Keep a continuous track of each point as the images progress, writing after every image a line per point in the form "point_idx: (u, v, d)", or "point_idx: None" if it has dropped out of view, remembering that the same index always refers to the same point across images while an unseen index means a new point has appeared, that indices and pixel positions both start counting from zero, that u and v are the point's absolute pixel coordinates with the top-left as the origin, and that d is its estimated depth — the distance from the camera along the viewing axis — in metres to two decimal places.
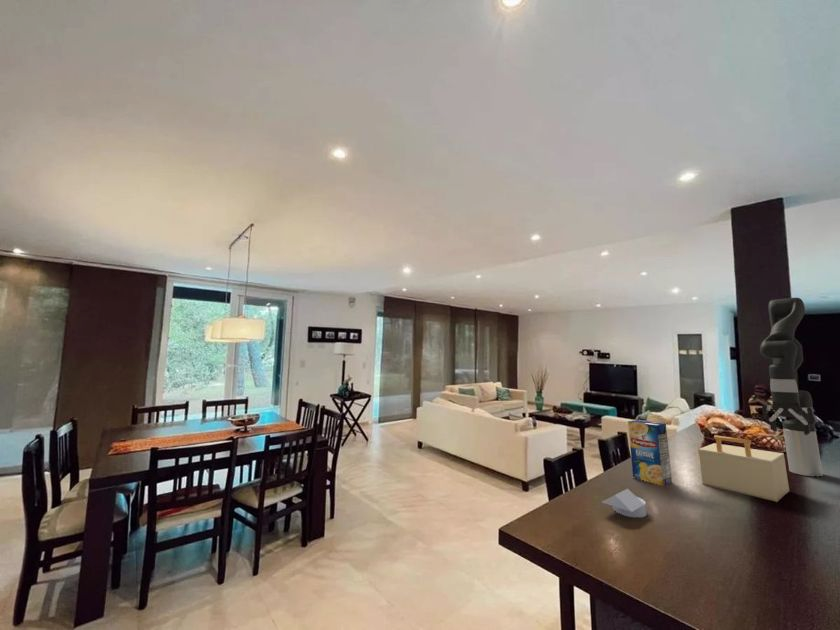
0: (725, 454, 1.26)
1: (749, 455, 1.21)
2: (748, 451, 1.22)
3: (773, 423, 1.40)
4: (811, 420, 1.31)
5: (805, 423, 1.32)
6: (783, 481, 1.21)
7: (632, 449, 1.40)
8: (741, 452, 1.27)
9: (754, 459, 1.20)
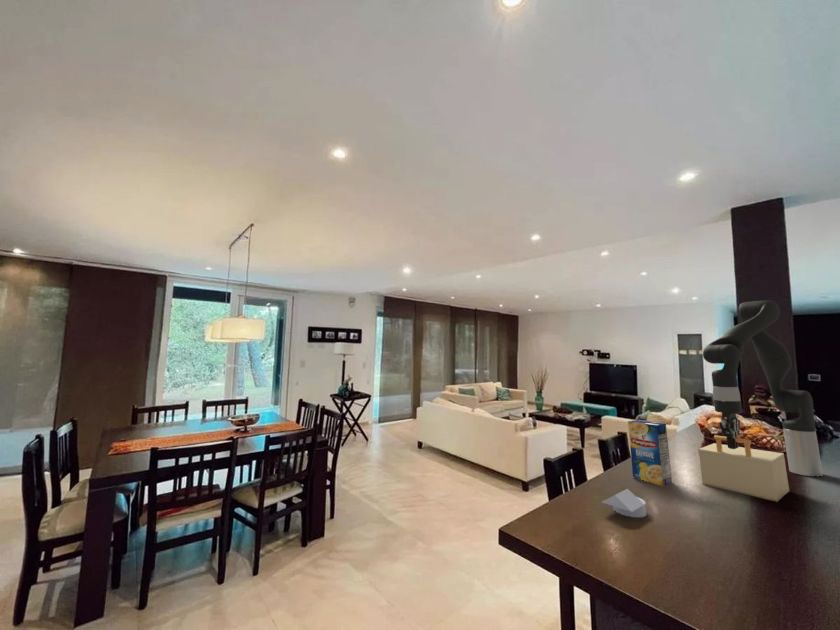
0: (725, 454, 1.26)
1: (749, 455, 1.21)
2: (748, 451, 1.22)
3: (734, 440, 1.24)
4: (738, 431, 1.27)
5: (737, 435, 1.26)
6: (783, 481, 1.21)
7: (632, 449, 1.40)
8: (741, 452, 1.27)
9: (754, 459, 1.20)
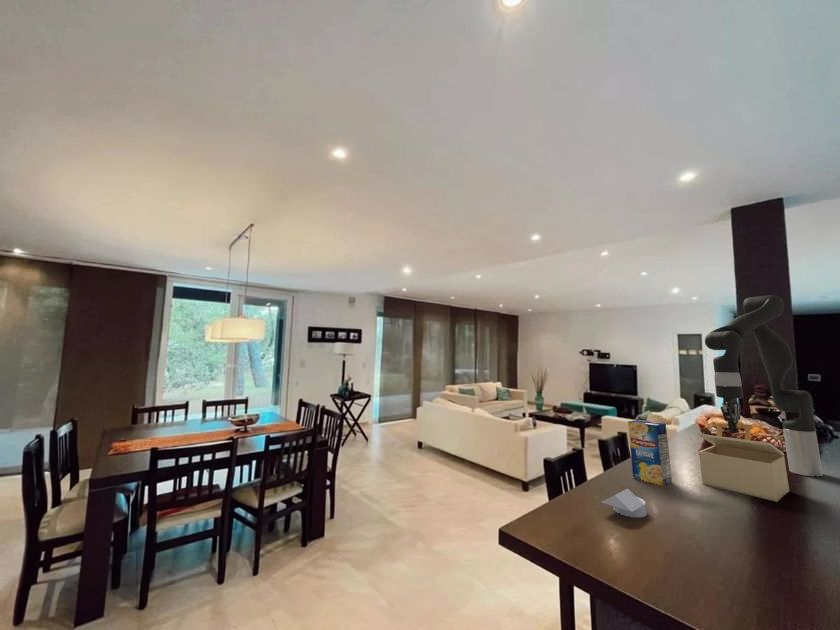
0: (724, 437, 1.27)
1: (748, 439, 1.23)
2: (748, 435, 1.23)
3: (735, 424, 1.27)
4: (739, 416, 1.29)
5: (738, 420, 1.28)
6: (783, 481, 1.21)
7: (632, 449, 1.40)
8: None
9: (753, 441, 1.21)
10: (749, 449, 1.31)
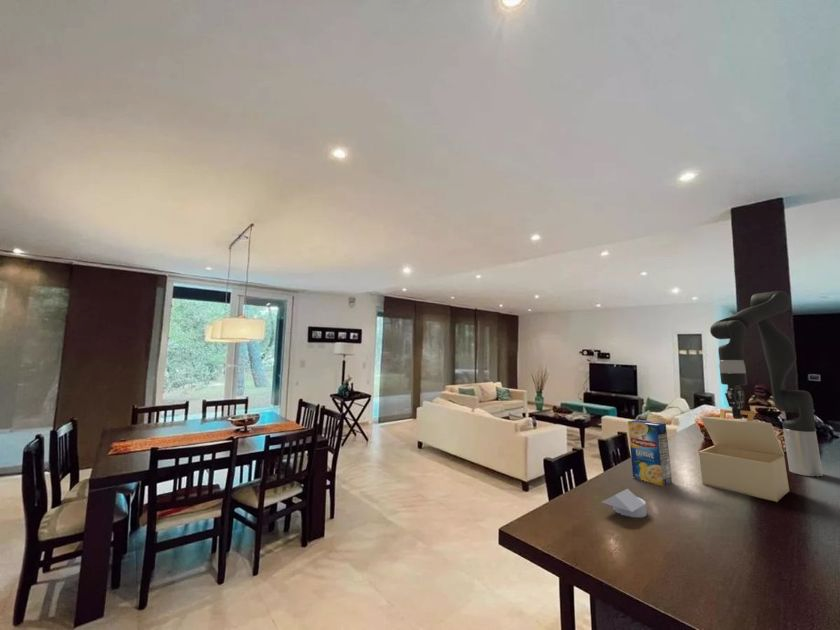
0: (726, 419, 1.31)
1: None
2: (750, 418, 1.27)
3: (739, 410, 1.31)
4: (743, 403, 1.33)
5: (742, 406, 1.32)
6: (783, 481, 1.21)
7: (632, 449, 1.40)
8: None
9: (754, 422, 1.24)
10: (749, 446, 1.31)
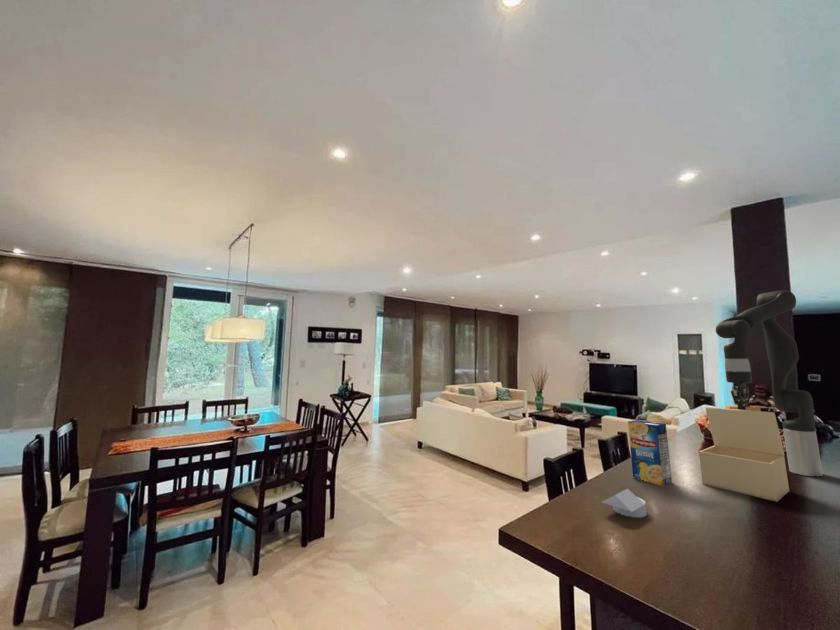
0: (731, 409, 1.34)
1: None
2: (754, 411, 1.30)
3: (745, 407, 1.34)
4: (748, 400, 1.37)
5: (747, 404, 1.36)
6: (783, 481, 1.21)
7: (632, 449, 1.40)
8: None
9: (758, 411, 1.28)
10: (750, 445, 1.32)
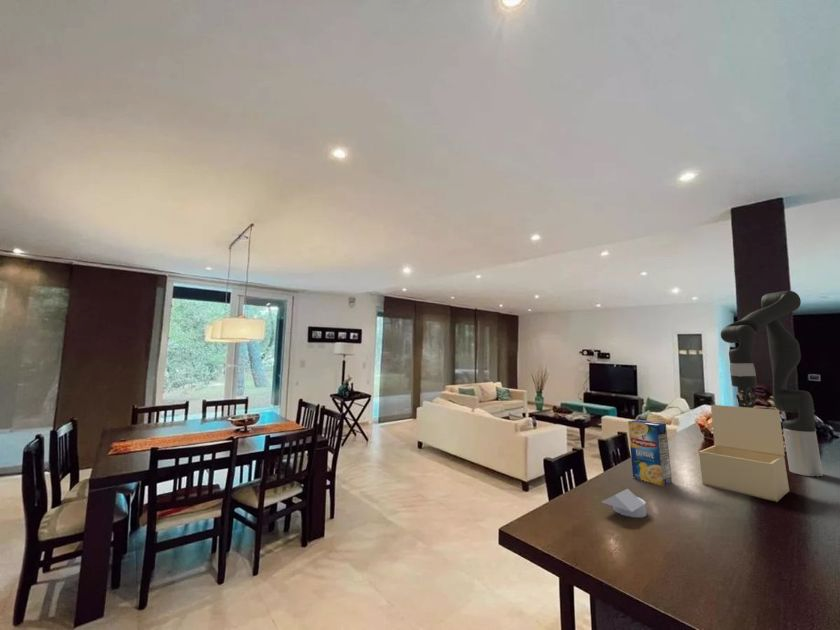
0: None
1: None
2: None
3: None
4: (753, 403, 1.40)
5: (752, 407, 1.39)
6: (783, 481, 1.21)
7: (632, 449, 1.40)
8: None
9: None
10: (750, 444, 1.32)
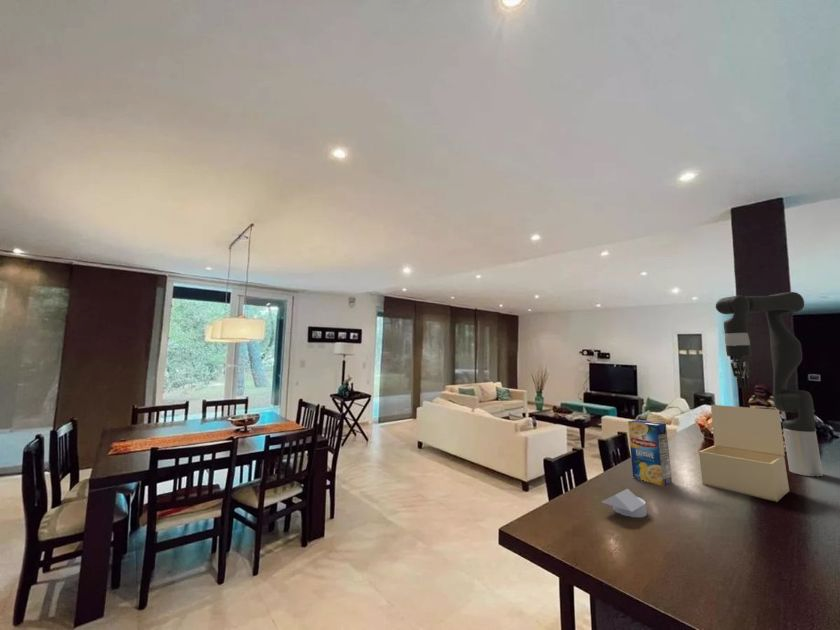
0: None
1: None
2: None
3: (744, 379, 1.39)
4: (748, 373, 1.42)
5: (747, 376, 1.41)
6: (783, 481, 1.21)
7: (632, 449, 1.40)
8: None
9: None
10: (750, 444, 1.32)
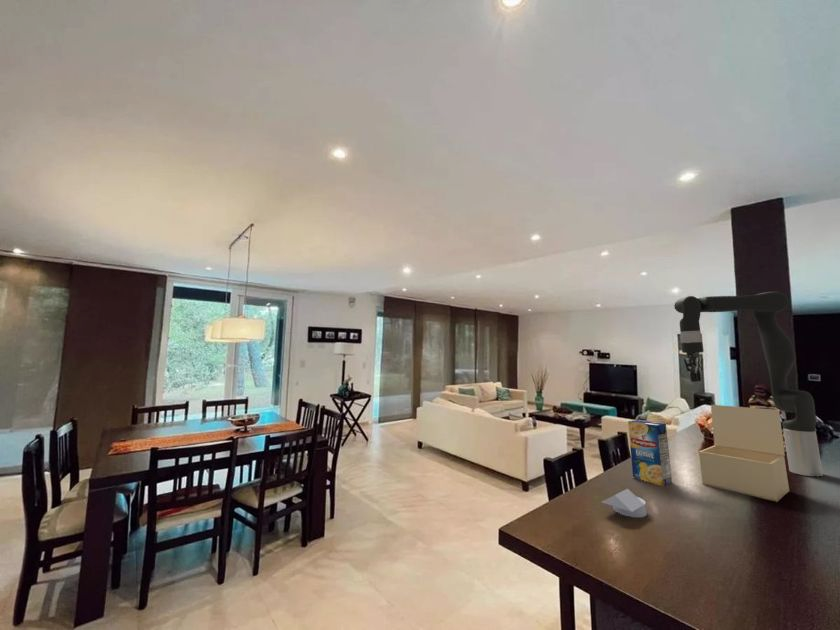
0: None
1: None
2: None
3: (696, 374, 1.49)
4: (701, 368, 1.53)
5: (700, 371, 1.52)
6: (783, 481, 1.21)
7: (632, 449, 1.40)
8: None
9: None
10: (750, 444, 1.32)
